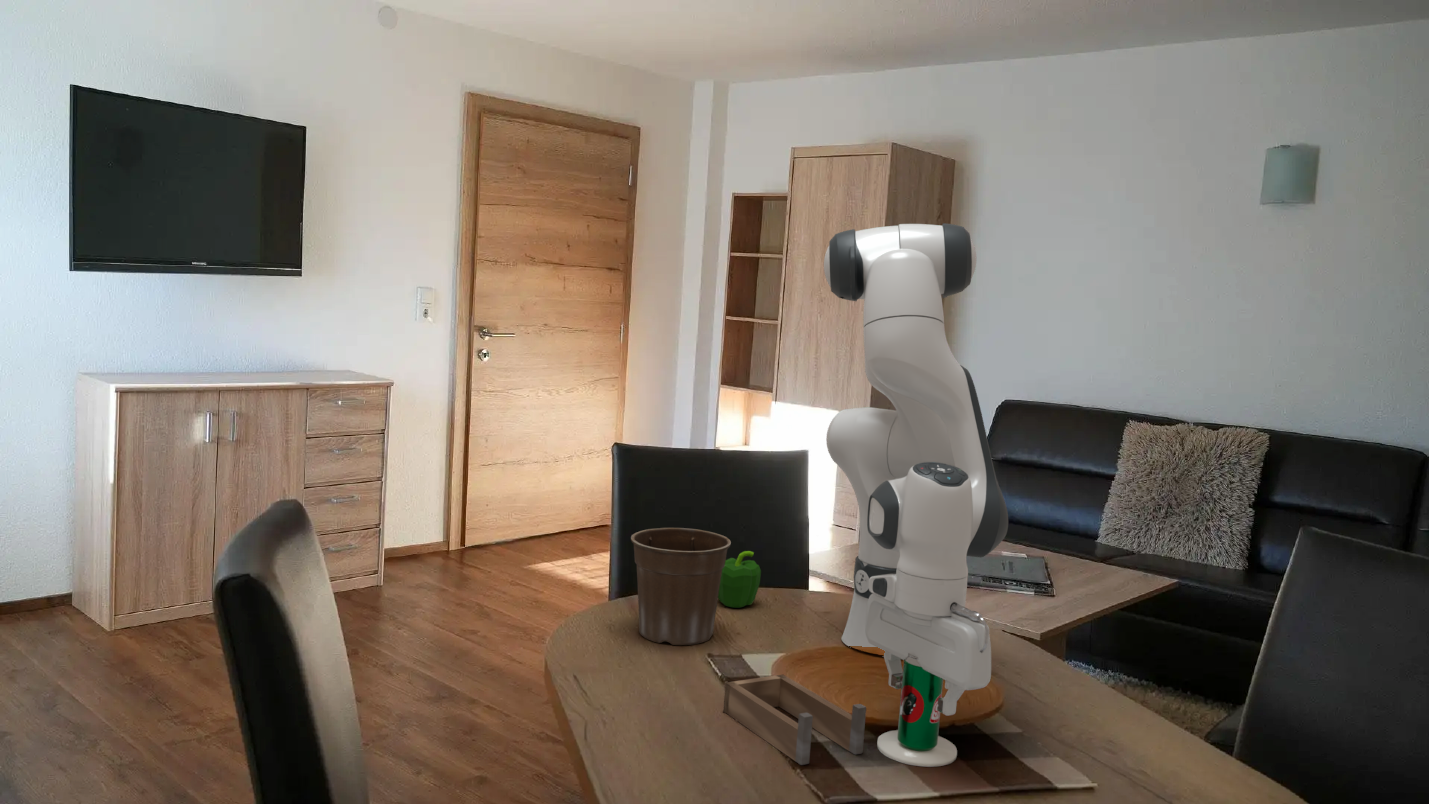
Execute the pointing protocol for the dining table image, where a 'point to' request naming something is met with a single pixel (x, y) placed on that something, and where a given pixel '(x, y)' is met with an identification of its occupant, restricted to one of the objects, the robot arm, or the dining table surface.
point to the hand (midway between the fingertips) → (920, 699)
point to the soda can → (919, 707)
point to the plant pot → (678, 583)
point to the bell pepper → (739, 581)
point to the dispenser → (756, 713)
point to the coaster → (935, 757)
